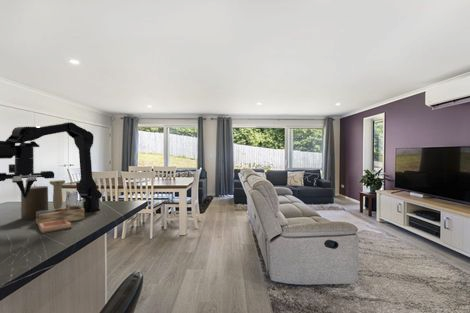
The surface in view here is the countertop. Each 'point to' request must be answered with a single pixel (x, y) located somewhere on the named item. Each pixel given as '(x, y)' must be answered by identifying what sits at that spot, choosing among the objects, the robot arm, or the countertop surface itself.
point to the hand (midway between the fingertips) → (24, 197)
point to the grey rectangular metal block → (44, 212)
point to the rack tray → (54, 226)
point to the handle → (57, 193)
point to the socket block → (62, 215)
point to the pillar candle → (34, 202)
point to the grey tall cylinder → (71, 201)
